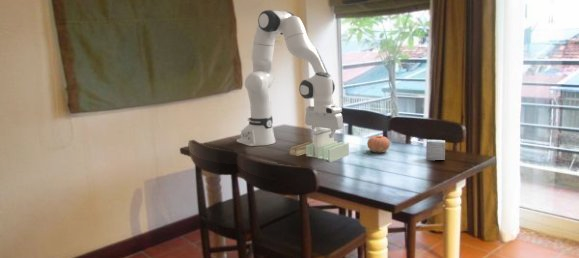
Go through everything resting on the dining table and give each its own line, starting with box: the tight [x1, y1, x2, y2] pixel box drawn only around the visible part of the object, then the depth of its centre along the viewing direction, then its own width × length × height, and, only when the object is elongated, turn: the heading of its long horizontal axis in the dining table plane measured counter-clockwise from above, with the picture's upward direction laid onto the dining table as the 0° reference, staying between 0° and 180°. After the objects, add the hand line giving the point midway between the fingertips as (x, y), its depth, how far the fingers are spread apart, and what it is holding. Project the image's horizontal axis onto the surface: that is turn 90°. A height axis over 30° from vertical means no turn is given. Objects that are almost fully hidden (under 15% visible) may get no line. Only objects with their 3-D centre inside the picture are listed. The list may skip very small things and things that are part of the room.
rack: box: [305, 140, 350, 163], centre depth 224 cm, size 14×15×6 cm
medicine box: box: [425, 139, 446, 161], centre depth 212 cm, size 8×4×9 cm, turn 71°
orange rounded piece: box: [366, 135, 391, 154], centre depth 229 cm, size 11×11×8 cm
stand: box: [289, 141, 313, 157], centre depth 231 cm, size 6×16×4 cm, turn 138°
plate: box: [314, 128, 335, 158], centre depth 224 cm, size 2×13×12 cm, turn 138°
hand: (323, 136), depth 223 cm, fingers open, 8 cm apart
